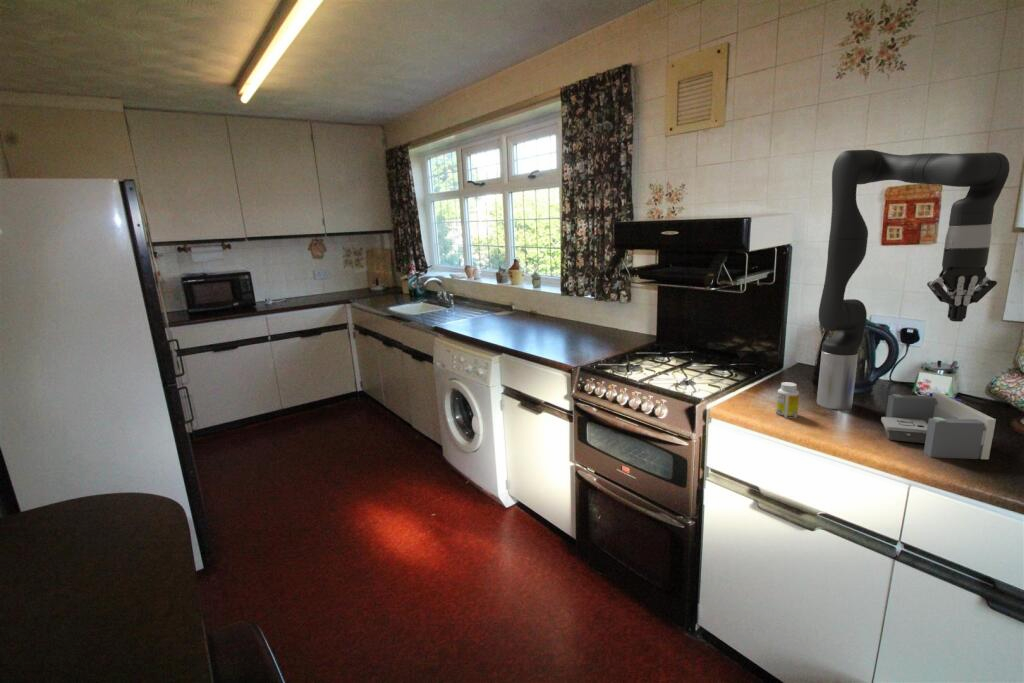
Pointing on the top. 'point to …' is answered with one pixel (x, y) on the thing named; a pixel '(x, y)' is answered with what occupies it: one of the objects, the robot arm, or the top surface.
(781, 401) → the supplement bottle
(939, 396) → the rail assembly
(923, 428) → the electrical switch
